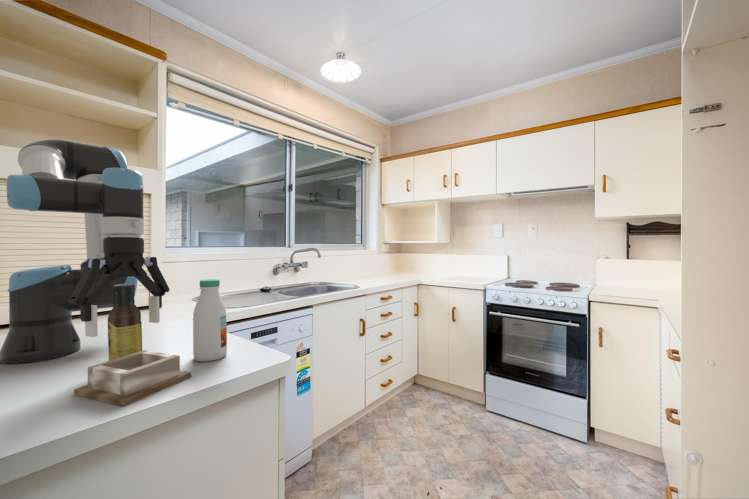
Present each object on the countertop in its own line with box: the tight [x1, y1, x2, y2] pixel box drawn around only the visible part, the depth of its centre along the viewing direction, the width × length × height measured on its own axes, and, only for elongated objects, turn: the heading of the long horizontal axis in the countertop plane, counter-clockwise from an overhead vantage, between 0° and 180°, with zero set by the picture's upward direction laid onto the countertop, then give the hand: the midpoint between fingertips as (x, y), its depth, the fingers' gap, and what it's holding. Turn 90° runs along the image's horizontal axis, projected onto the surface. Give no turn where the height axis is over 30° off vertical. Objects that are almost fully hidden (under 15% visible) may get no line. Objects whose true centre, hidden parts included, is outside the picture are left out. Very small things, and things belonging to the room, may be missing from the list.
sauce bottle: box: [107, 284, 143, 361], centre depth 76 cm, size 6×6×20 cm
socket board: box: [73, 349, 192, 407], centre depth 67 cm, size 14×14×5 cm
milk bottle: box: [192, 278, 228, 362], centre depth 84 cm, size 8×8×20 cm
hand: (125, 328), depth 76 cm, fingers open, 13 cm apart
